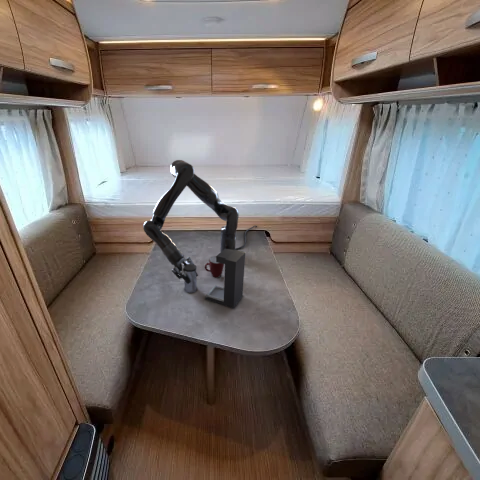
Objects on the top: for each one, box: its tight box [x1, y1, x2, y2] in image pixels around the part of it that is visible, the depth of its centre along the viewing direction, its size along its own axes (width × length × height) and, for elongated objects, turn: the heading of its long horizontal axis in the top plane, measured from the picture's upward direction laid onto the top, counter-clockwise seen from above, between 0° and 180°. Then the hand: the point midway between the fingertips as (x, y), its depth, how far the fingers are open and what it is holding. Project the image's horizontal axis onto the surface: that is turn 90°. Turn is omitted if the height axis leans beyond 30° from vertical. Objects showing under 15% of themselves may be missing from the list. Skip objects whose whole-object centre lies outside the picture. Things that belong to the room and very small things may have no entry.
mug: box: [204, 256, 225, 279], centre depth 146 cm, size 11×8×10 cm
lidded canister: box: [183, 263, 198, 294], centre depth 133 cm, size 6×6×13 cm
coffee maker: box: [205, 249, 246, 309], centre depth 124 cm, size 15×11×24 cm
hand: (193, 279), depth 132 cm, fingers open, 6 cm apart
